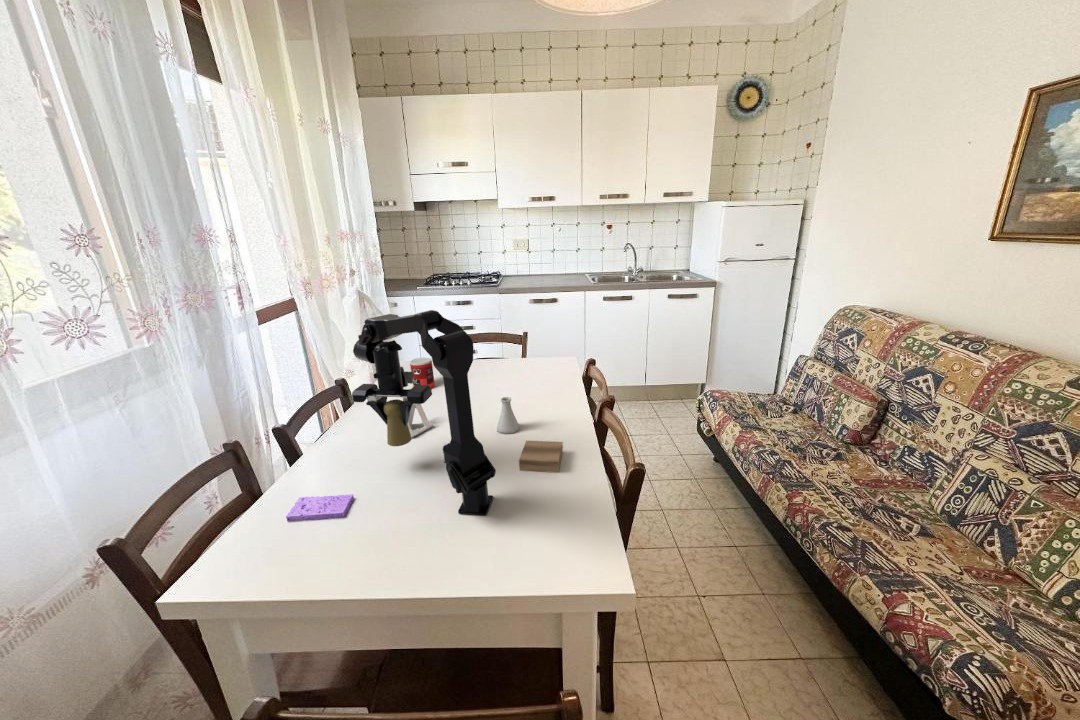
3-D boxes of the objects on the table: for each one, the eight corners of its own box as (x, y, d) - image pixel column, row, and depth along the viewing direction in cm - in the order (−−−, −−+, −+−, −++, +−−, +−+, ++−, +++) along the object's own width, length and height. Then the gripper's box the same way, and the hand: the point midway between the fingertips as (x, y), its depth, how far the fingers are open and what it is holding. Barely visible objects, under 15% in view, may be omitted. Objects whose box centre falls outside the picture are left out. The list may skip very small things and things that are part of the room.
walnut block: (558, 472, 110) (558, 461, 109) (519, 470, 112) (519, 460, 111) (562, 451, 119) (562, 442, 118) (526, 450, 121) (526, 440, 120)
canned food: (412, 386, 170) (408, 359, 167) (432, 382, 173) (429, 356, 170) (415, 392, 164) (411, 365, 160) (436, 388, 167) (433, 361, 163)
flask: (516, 435, 129) (514, 404, 126) (493, 433, 131) (490, 403, 128) (522, 424, 136) (520, 394, 133) (499, 422, 137) (497, 393, 134)
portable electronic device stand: (412, 439, 130) (408, 413, 127) (394, 433, 134) (390, 408, 131) (433, 427, 136) (430, 402, 134) (416, 421, 141) (412, 398, 138)
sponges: (301, 503, 103) (299, 496, 102) (355, 499, 103) (354, 492, 103) (286, 523, 96) (284, 516, 96) (344, 519, 97) (343, 512, 96)
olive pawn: (382, 443, 112) (375, 404, 108) (399, 433, 117) (393, 395, 113) (399, 448, 109) (393, 408, 106) (416, 437, 114) (411, 398, 111)
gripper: (436, 356, 113) (443, 411, 118) (369, 356, 115) (378, 409, 120) (418, 371, 102) (427, 431, 107) (345, 370, 105) (356, 428, 110)
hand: (397, 424), depth 111 cm, fingers closed on olive pawn, 4 cm apart
